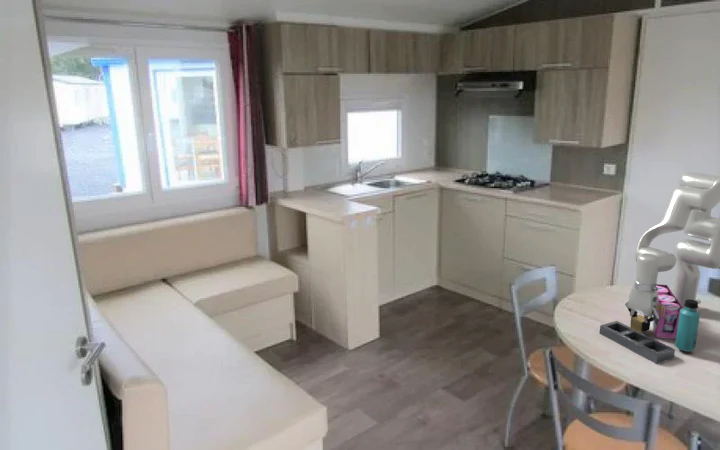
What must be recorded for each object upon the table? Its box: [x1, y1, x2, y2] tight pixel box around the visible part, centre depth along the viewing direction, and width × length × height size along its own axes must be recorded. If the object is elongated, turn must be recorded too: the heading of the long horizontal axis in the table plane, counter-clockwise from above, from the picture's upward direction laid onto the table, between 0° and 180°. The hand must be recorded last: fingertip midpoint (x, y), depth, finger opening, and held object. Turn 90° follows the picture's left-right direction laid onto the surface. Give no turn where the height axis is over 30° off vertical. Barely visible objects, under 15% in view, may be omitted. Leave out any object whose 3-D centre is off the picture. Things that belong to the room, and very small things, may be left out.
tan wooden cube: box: [629, 314, 645, 333], centre depth 207 cm, size 5×5×5 cm
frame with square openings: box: [599, 320, 676, 365], centre depth 197 cm, size 9×25×4 cm, turn 24°
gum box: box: [650, 283, 683, 340], centre depth 210 cm, size 24×8×14 cm, turn 164°
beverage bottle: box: [674, 299, 701, 352], centre depth 190 cm, size 6×7×20 cm
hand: (639, 327), depth 207 cm, fingers closed on tan wooden cube, 4 cm apart
